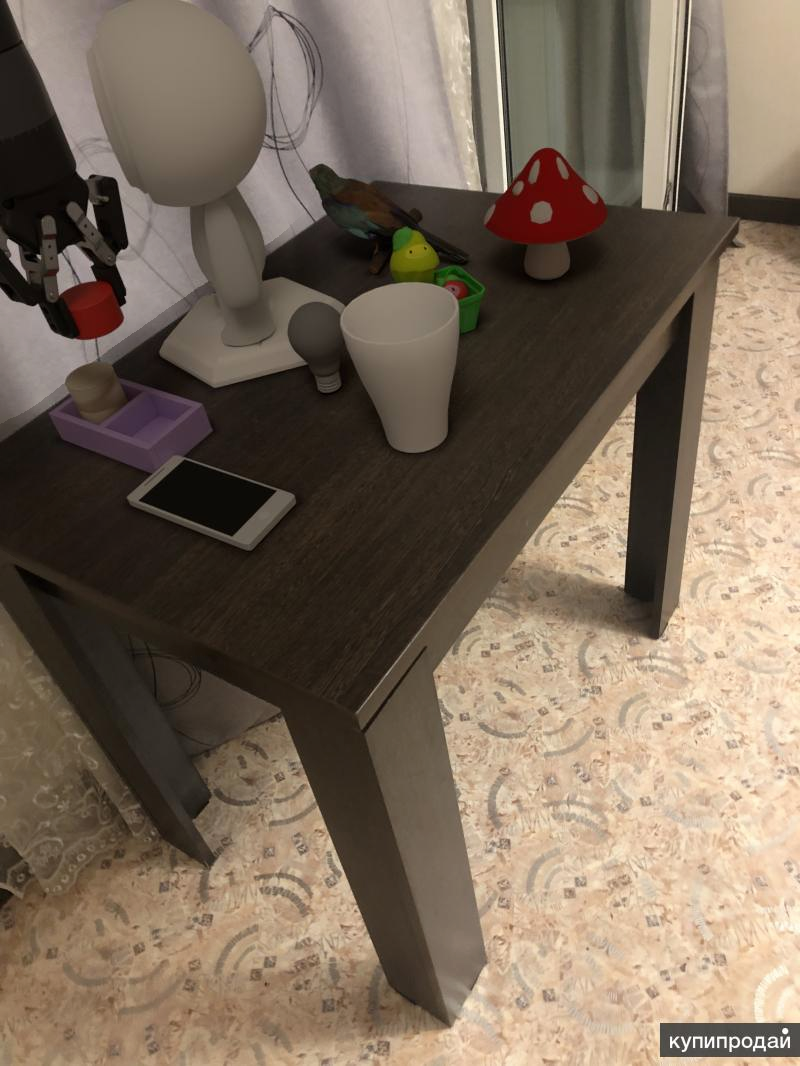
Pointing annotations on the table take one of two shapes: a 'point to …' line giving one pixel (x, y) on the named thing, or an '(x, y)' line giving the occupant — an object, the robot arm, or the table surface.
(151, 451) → the purple divided tray
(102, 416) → the ivory token
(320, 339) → the light bulb
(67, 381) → the ivory token
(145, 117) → the white cartoon figure
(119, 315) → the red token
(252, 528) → the smartphone
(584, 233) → the decorative mushroom
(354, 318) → the cup
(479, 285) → the fruit basket
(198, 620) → the table surface
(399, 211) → the bird figurine
